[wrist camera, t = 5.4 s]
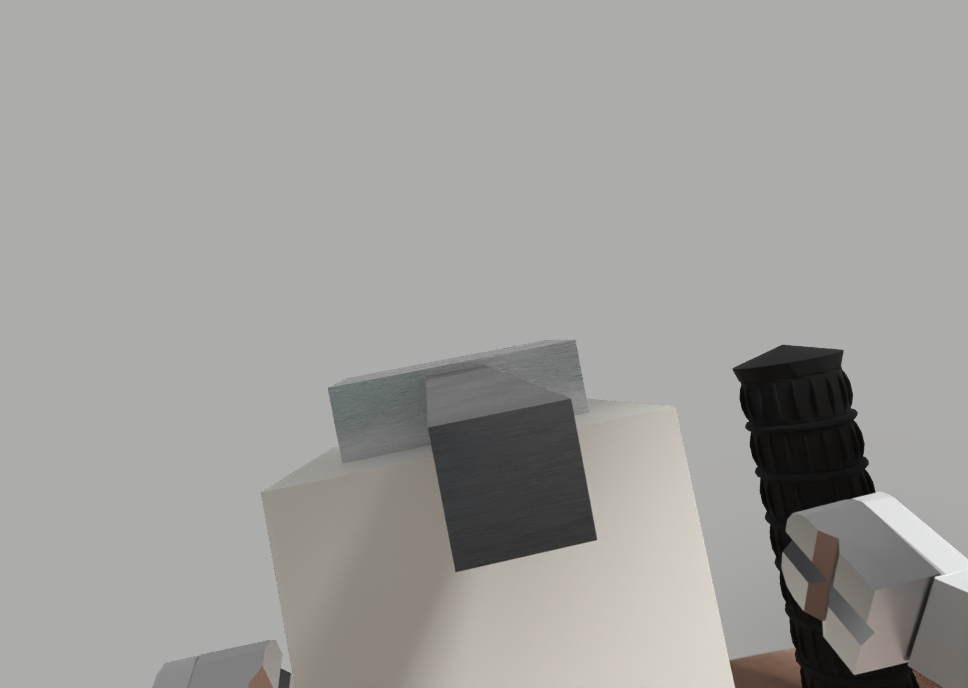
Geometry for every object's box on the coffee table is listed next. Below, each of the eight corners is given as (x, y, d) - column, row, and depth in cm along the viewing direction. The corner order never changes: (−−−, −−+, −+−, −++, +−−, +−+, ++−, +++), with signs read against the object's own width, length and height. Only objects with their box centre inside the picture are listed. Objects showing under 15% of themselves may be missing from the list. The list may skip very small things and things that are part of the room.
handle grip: (1007, 780, 34) (906, 685, 44) (901, 325, 35) (826, 333, 45) (824, 798, 35) (766, 702, 45) (728, 358, 37) (692, 359, 46)
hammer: (556, 398, 30) (545, 340, 30) (811, 508, 10) (781, 337, 10) (359, 438, 29) (347, 378, 29) (220, 645, 9) (182, 457, 9)
